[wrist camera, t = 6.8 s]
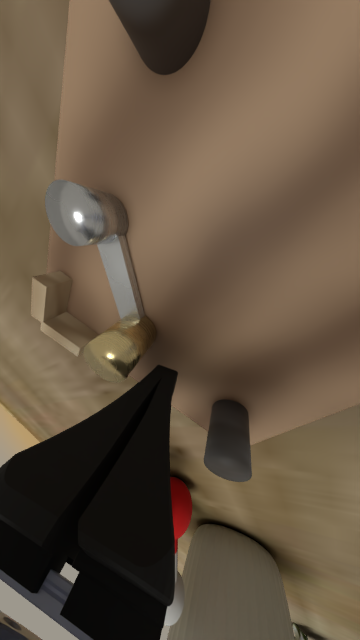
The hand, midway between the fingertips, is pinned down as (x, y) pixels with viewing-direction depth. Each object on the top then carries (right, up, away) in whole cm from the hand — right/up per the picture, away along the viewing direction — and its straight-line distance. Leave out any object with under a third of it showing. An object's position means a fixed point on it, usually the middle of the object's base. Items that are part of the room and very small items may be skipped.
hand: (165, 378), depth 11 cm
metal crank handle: (-2, +6, -1) cm, 6 cm away
